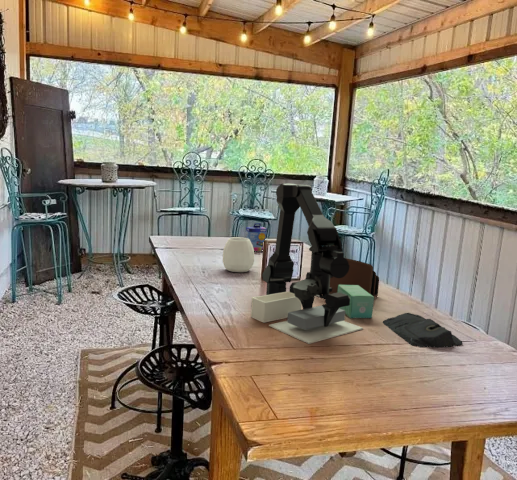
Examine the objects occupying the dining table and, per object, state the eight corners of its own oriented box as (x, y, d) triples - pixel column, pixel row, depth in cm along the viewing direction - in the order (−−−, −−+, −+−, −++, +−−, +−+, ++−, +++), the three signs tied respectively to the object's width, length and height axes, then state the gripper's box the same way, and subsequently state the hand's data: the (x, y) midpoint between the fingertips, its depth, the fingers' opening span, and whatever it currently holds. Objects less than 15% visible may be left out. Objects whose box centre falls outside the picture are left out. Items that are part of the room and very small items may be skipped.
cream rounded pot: (253, 275, 203) (254, 242, 201) (220, 273, 203) (222, 240, 201) (254, 268, 216) (255, 237, 214) (223, 266, 216) (224, 235, 214)
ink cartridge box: (247, 252, 252) (249, 223, 249) (244, 250, 257) (245, 222, 254) (266, 251, 255) (267, 223, 253) (261, 249, 261) (263, 222, 258)
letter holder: (369, 303, 173) (373, 263, 170) (316, 292, 182) (319, 254, 180) (378, 297, 181) (381, 258, 179) (327, 287, 191) (329, 251, 189)
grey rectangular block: (287, 322, 141) (287, 312, 141) (326, 313, 151) (327, 304, 151) (305, 329, 136) (306, 319, 135) (344, 320, 146) (345, 310, 145)
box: (350, 319, 154) (352, 295, 152) (335, 306, 167) (337, 284, 166) (372, 319, 155) (375, 295, 154) (356, 306, 168) (358, 284, 167)
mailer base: (250, 316, 150) (251, 297, 149) (287, 309, 159) (288, 291, 158) (263, 322, 145) (264, 302, 144) (300, 314, 155) (301, 295, 154)
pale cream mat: (268, 326, 143) (268, 324, 143) (322, 314, 157) (322, 312, 157) (308, 343, 131) (308, 342, 131) (362, 329, 145) (363, 327, 144)
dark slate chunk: (424, 321, 156) (425, 307, 155) (466, 348, 135) (469, 331, 134) (378, 322, 153) (379, 307, 152) (414, 350, 132) (416, 333, 131)
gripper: (277, 265, 143) (273, 318, 145) (325, 280, 129) (320, 338, 131) (305, 262, 150) (301, 312, 152) (353, 275, 136) (348, 330, 138)
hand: (316, 322), depth 143 cm, fingers closed on grey rectangular block, 7 cm apart
